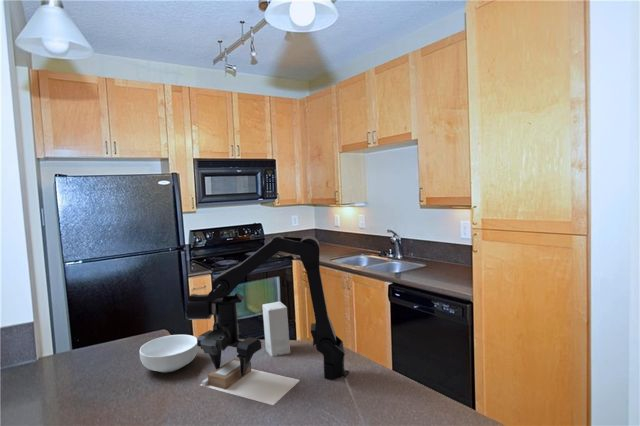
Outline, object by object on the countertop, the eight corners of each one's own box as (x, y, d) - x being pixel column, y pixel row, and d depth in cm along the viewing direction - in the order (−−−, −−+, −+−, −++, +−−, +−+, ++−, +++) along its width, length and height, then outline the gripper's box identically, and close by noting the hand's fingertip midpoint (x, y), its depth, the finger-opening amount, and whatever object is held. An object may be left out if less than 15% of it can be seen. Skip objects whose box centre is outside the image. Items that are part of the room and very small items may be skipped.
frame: (235, 367, 113) (234, 357, 113) (251, 370, 110) (250, 360, 110) (208, 384, 103) (207, 374, 103) (225, 389, 101) (224, 378, 100)
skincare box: (290, 355, 122) (288, 307, 121) (270, 359, 119) (267, 310, 118) (283, 345, 129) (281, 300, 128) (264, 349, 127) (261, 303, 126)
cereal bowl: (187, 379, 109) (186, 355, 108) (130, 381, 109) (128, 357, 108) (206, 353, 126) (205, 332, 125) (156, 355, 126) (155, 334, 125)
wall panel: (231, 366, 115) (231, 358, 115) (300, 382, 104) (299, 374, 104) (200, 387, 104) (199, 378, 103) (273, 408, 93) (272, 398, 92)
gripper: (180, 323, 103) (184, 379, 104) (234, 332, 94) (237, 393, 95) (209, 310, 113) (212, 361, 114) (261, 318, 104) (264, 373, 105)
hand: (230, 372), depth 107 cm, fingers open, 9 cm apart
